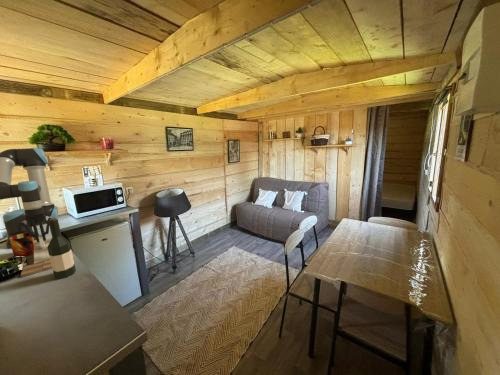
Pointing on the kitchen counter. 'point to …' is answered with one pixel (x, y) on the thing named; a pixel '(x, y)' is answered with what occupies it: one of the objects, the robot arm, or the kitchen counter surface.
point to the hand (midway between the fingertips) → (43, 246)
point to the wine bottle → (60, 252)
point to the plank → (41, 251)
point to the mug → (22, 244)
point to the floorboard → (36, 268)
